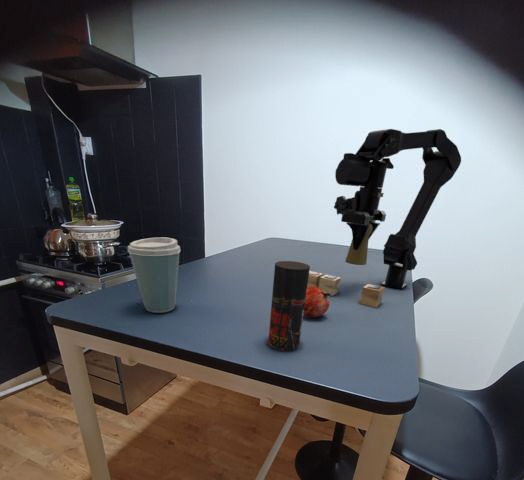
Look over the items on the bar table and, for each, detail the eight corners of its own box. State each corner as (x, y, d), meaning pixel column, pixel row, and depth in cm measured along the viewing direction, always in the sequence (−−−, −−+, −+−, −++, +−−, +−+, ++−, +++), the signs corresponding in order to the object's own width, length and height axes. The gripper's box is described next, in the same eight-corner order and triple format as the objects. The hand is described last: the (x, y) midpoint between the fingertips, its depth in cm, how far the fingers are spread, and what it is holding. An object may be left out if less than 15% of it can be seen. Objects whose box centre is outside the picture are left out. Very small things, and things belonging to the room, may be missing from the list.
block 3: (364, 299, 89) (368, 283, 86) (380, 303, 86) (385, 286, 84) (359, 303, 85) (363, 286, 83) (375, 307, 83) (380, 290, 81)
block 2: (324, 289, 95) (326, 273, 92) (338, 292, 92) (341, 277, 90) (317, 292, 91) (320, 276, 89) (331, 296, 89) (334, 279, 87)
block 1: (307, 285, 97) (309, 270, 95) (321, 288, 95) (323, 273, 93) (300, 288, 94) (302, 272, 92) (314, 291, 92) (316, 275, 89)
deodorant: (266, 336, 63) (273, 260, 56) (296, 337, 64) (305, 262, 57) (269, 350, 58) (277, 268, 51) (301, 351, 58) (313, 270, 51)
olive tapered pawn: (367, 266, 89) (376, 224, 84) (345, 263, 90) (353, 222, 85) (365, 261, 94) (374, 222, 89) (344, 259, 95) (352, 220, 90)
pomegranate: (290, 325, 74) (322, 311, 67) (282, 296, 75) (312, 278, 67) (311, 322, 79) (343, 308, 72) (303, 294, 80) (333, 278, 72)
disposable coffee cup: (151, 320, 66) (143, 246, 59) (125, 306, 72) (116, 237, 65) (192, 309, 73) (190, 242, 66) (166, 297, 79) (161, 234, 72)
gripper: (354, 186, 94) (344, 241, 101) (328, 183, 80) (318, 247, 87) (392, 189, 88) (379, 247, 96) (371, 187, 74) (357, 254, 82)
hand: (358, 248), depth 90 cm, fingers closed on olive tapered pawn, 4 cm apart
